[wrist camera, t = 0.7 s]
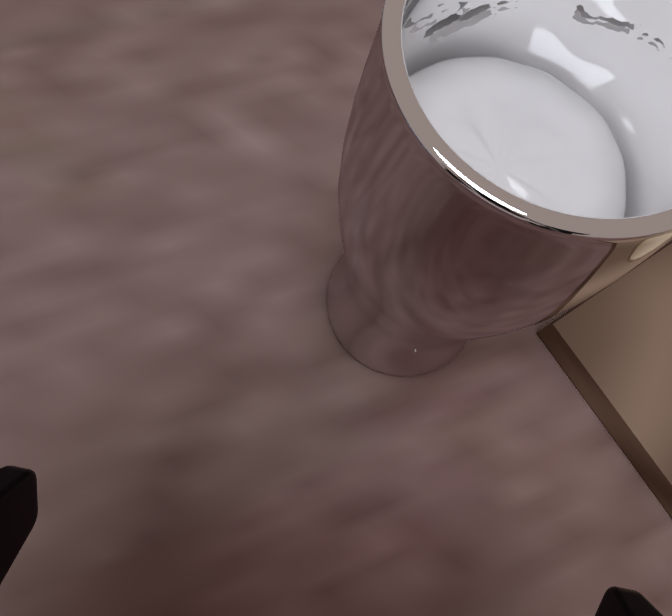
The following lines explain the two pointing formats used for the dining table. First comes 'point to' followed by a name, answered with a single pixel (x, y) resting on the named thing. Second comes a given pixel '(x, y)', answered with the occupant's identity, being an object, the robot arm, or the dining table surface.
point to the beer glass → (498, 170)
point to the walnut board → (626, 364)
